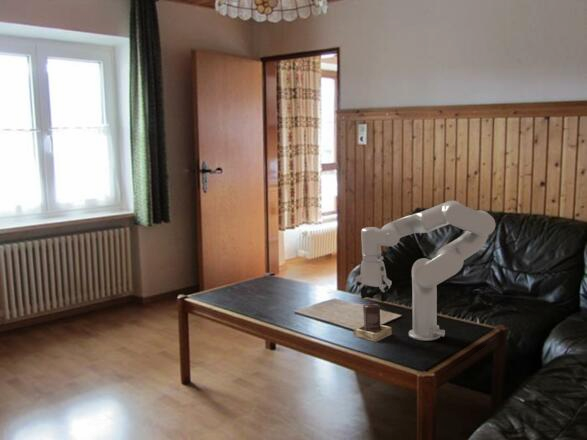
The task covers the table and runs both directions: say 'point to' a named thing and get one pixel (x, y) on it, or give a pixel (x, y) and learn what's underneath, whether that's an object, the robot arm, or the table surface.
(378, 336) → the housing
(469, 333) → the table surface
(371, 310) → the box
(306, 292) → the table surface
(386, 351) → the table surface
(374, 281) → the robot arm
